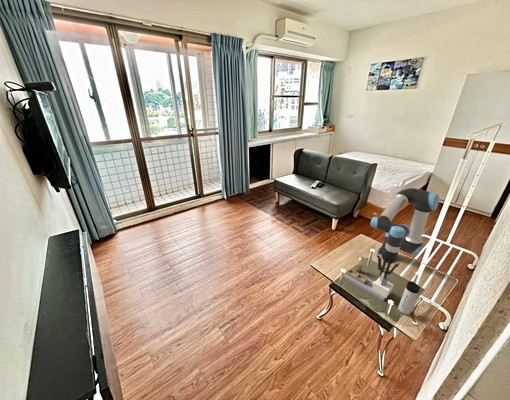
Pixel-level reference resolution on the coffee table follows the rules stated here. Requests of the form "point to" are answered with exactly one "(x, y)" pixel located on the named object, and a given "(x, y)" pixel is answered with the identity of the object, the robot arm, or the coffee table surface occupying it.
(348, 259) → the coffee table surface
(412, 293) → the travel mug
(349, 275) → the board
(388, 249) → the robot arm
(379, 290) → the cover
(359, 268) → the brass pin
